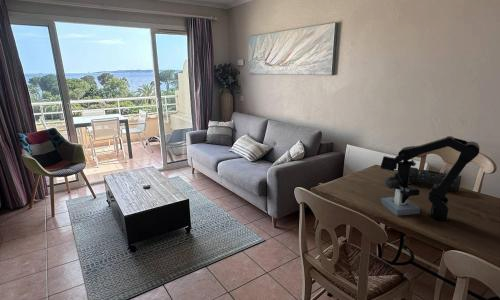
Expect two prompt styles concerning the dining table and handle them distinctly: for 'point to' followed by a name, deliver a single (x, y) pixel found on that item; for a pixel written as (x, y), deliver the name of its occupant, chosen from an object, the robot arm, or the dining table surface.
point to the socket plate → (400, 207)
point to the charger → (399, 198)
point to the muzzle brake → (432, 178)
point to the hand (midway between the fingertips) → (400, 201)
